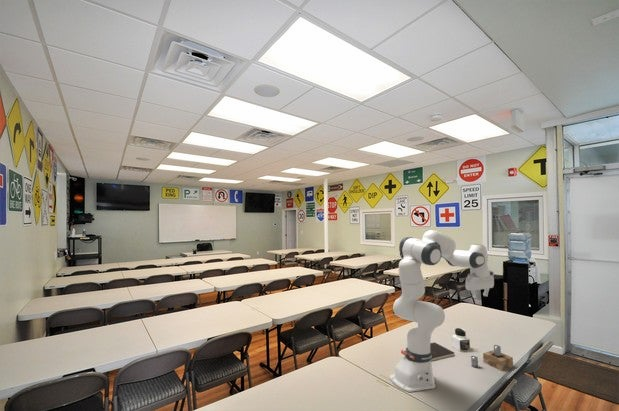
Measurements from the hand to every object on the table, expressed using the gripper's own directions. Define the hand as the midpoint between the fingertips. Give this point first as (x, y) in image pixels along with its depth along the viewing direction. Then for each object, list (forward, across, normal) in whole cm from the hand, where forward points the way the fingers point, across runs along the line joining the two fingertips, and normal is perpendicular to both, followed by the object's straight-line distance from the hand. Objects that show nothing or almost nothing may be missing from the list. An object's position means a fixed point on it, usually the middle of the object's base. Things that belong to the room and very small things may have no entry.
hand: (480, 296), depth 157 cm
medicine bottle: (+37, +6, +18) cm, 42 cm away
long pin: (+37, +7, -4) cm, 38 cm away
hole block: (+37, +7, -4) cm, 38 cm away
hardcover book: (+38, -17, +22) cm, 47 cm away
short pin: (+37, -7, 0) cm, 38 cm away
